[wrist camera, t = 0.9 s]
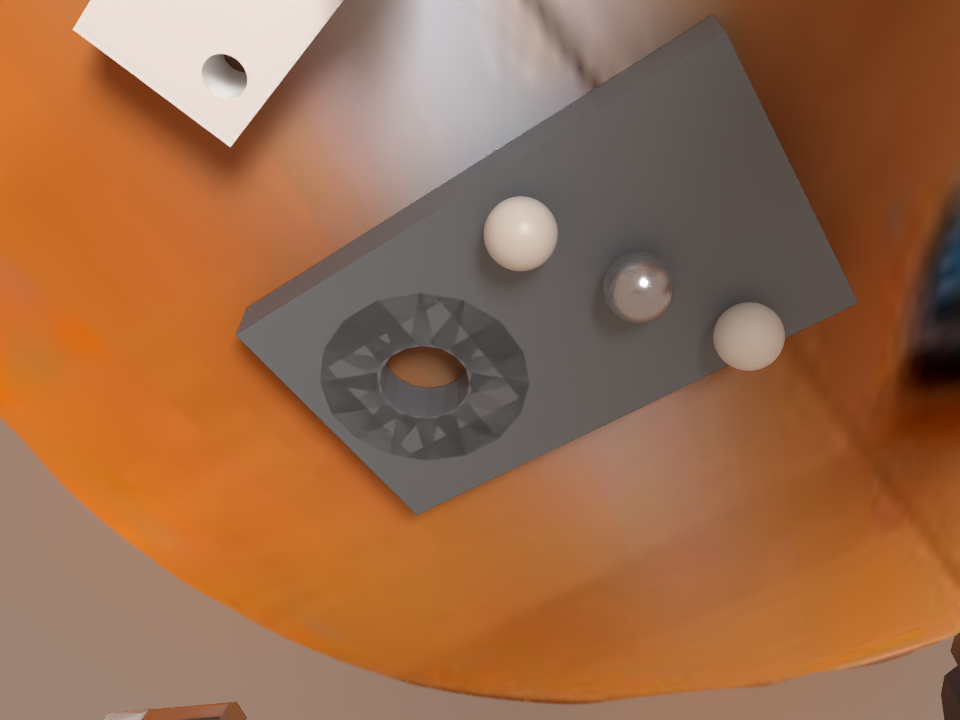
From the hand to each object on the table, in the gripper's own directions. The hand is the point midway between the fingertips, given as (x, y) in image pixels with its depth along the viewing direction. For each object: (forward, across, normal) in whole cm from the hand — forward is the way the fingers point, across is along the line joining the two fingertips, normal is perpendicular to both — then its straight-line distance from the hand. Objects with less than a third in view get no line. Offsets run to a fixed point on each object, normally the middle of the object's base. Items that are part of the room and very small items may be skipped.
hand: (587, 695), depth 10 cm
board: (+32, 0, +14) cm, 35 cm away
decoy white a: (+28, -9, +15) cm, 33 cm away
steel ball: (+28, -4, +12) cm, 30 cm away
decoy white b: (+28, +1, +8) cm, 29 cm away
